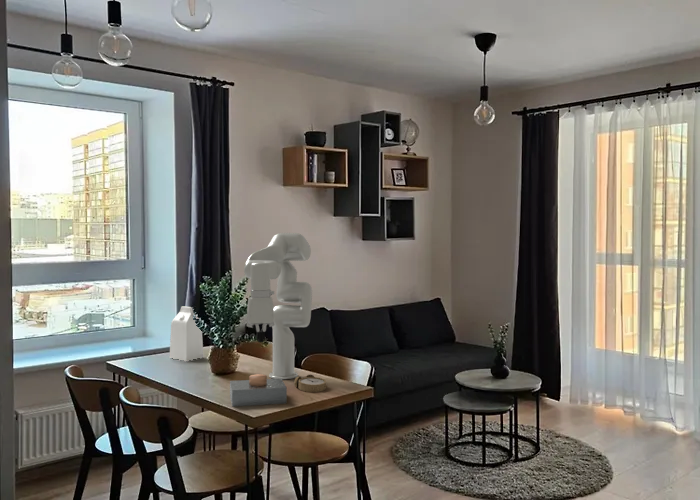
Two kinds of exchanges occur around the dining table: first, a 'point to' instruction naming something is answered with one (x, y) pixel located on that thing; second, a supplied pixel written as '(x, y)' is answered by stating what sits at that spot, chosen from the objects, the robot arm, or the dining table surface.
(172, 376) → the dining table surface
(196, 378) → the dining table surface
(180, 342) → the milk
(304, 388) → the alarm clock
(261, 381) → the peg
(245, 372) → the dining table surface
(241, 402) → the hitch block
